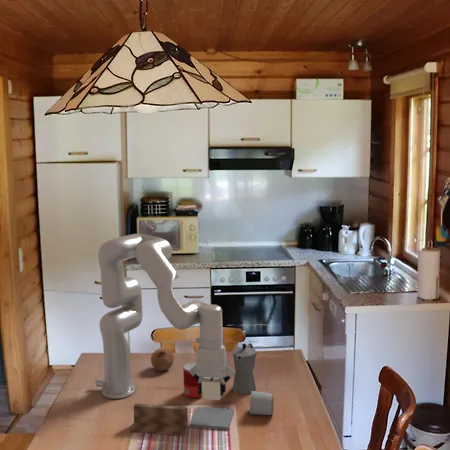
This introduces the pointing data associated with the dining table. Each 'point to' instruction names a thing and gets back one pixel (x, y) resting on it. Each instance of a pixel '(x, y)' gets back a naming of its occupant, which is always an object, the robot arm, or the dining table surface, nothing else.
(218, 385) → the marked cube
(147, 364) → the dining table surface
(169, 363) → the onion
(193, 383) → the canned food
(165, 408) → the walnut screen
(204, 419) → the slate mat
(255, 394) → the ceramic mug
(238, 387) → the coffeepot
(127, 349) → the robot arm
